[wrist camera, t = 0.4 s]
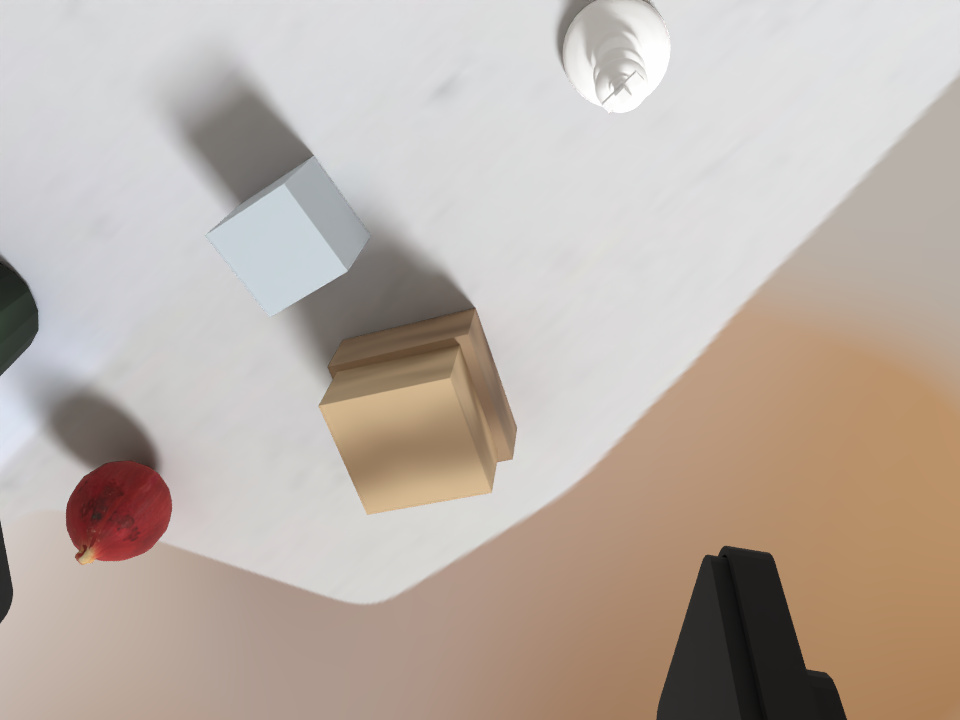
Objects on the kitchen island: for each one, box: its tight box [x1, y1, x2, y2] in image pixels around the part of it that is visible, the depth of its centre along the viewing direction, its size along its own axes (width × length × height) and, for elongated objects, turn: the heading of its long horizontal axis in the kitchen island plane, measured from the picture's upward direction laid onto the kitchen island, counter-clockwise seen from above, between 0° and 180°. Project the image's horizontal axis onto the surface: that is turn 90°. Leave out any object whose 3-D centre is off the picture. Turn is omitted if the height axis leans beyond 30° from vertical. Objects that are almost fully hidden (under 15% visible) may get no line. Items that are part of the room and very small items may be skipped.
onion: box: [66, 461, 172, 565], centre depth 51 cm, size 6×6×8 cm
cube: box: [205, 156, 371, 317], centre depth 43 cm, size 5×5×5 cm
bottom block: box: [328, 308, 517, 462], centre depth 48 cm, size 8×8×4 cm
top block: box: [319, 345, 498, 515], centre depth 45 cm, size 7×7×4 cm
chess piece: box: [563, 0, 671, 114], centre depth 35 cm, size 5×5×10 cm
